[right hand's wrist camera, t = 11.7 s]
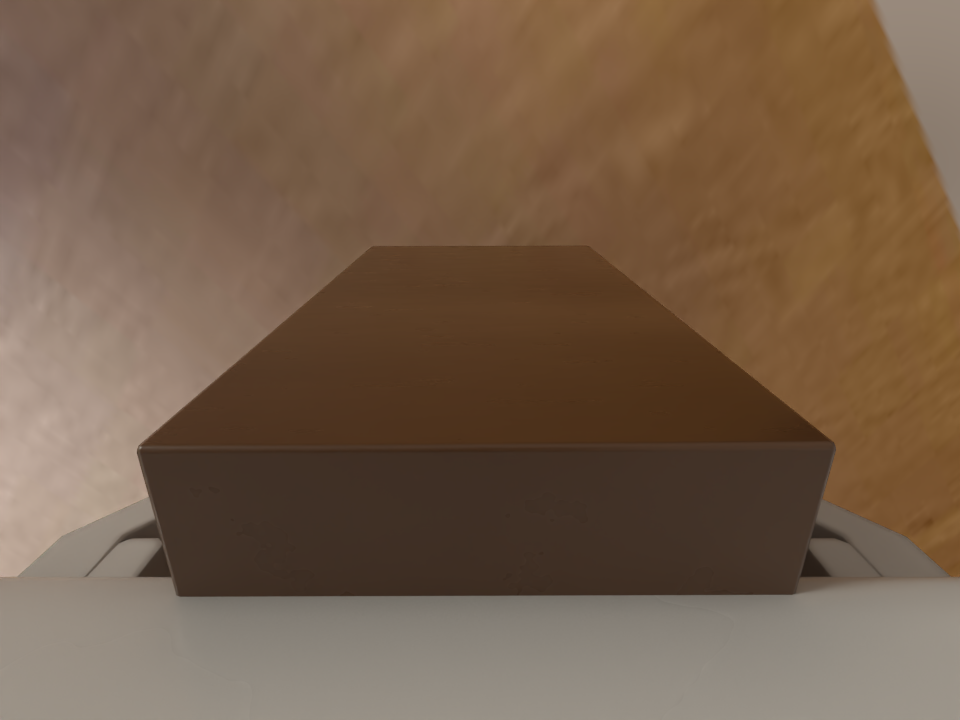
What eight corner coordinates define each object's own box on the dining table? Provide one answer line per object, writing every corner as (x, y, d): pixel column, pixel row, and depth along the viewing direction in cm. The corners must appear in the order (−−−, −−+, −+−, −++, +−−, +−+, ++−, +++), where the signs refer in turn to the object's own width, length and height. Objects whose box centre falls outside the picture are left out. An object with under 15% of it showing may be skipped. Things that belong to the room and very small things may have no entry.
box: (371, 245, 14) (130, 447, 4) (588, 245, 14) (841, 444, 4) (410, 768, 21) (358, 1258, 12) (550, 767, 22) (610, 1255, 12)
